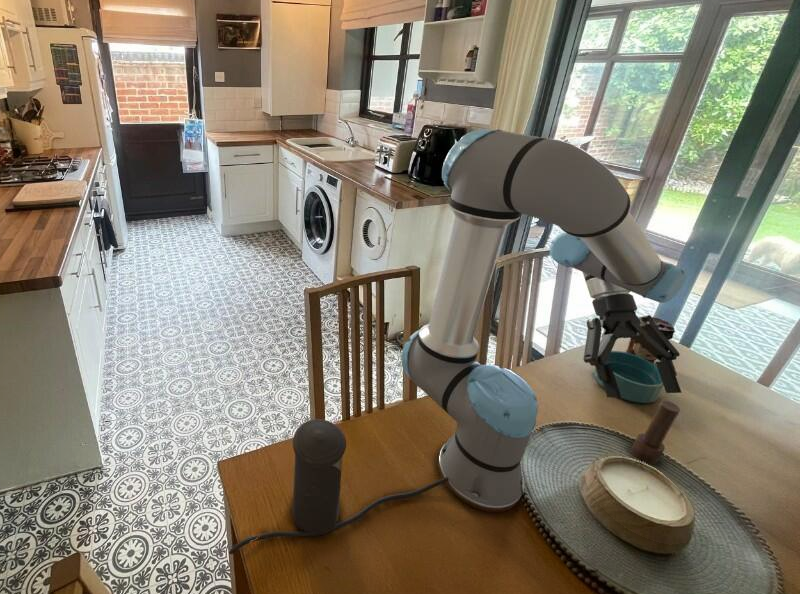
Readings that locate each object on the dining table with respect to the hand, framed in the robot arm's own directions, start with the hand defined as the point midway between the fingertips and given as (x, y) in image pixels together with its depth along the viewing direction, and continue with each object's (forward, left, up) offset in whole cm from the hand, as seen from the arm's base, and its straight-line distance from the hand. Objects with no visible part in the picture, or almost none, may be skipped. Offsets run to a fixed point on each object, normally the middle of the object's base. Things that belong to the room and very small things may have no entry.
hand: (644, 395), depth 86 cm
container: (-72, +1, -12) cm, 73 cm away
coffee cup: (+28, +18, -12) cm, 35 cm away
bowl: (+15, +12, -12) cm, 23 cm away
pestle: (-1, -5, -12) cm, 13 cm away
